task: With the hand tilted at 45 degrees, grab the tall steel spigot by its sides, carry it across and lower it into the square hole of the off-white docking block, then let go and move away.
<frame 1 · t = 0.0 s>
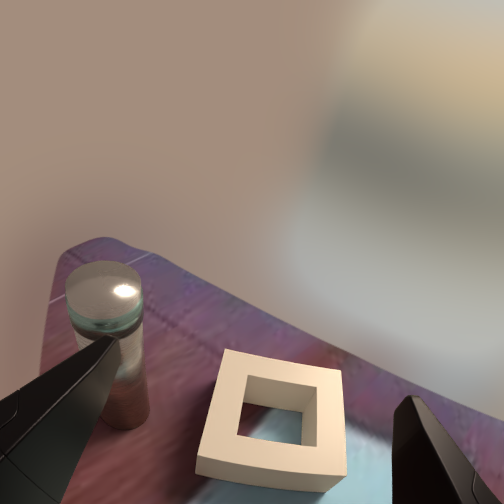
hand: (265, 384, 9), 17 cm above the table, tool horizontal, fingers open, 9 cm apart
steel spigot: (123, 407, 23), on the table
docking block: (268, 433, 24), on the table
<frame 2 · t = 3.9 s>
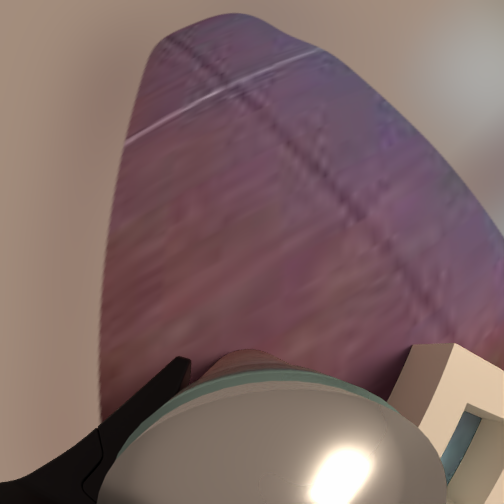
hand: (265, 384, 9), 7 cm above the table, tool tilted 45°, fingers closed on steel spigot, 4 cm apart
steel spigot: (248, 392, 15), on the table, touching gripper
docking block: (435, 449, 14), on the table
when the fingers open (8 cm above the table, at t = 8.2 s): steel spigot drops 2 cm, resting in docking block.
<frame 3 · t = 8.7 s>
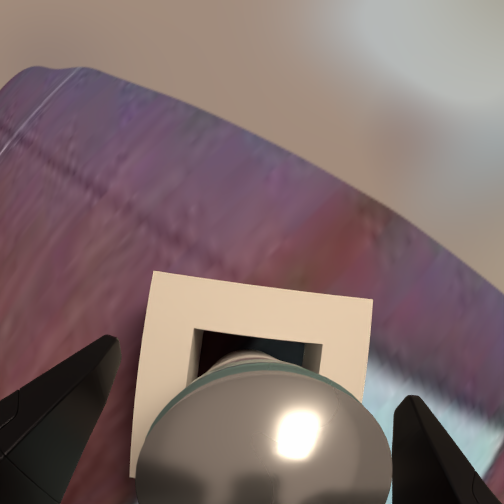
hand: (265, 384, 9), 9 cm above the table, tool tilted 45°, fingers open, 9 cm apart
steel spigot: (247, 387, 17), resting in docking block
docking block: (247, 387, 17), on the table
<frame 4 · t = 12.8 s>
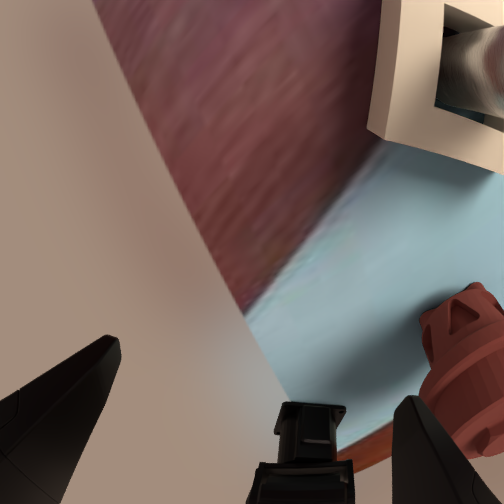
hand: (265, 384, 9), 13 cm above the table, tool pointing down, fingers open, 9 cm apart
mechanical component: (454, 311, 22), on the table
steel spigot: (453, 72, 14), resting in docking block
docking block: (453, 71, 14), on the table
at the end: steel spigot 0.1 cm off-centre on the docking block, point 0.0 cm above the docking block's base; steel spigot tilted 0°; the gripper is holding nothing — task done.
